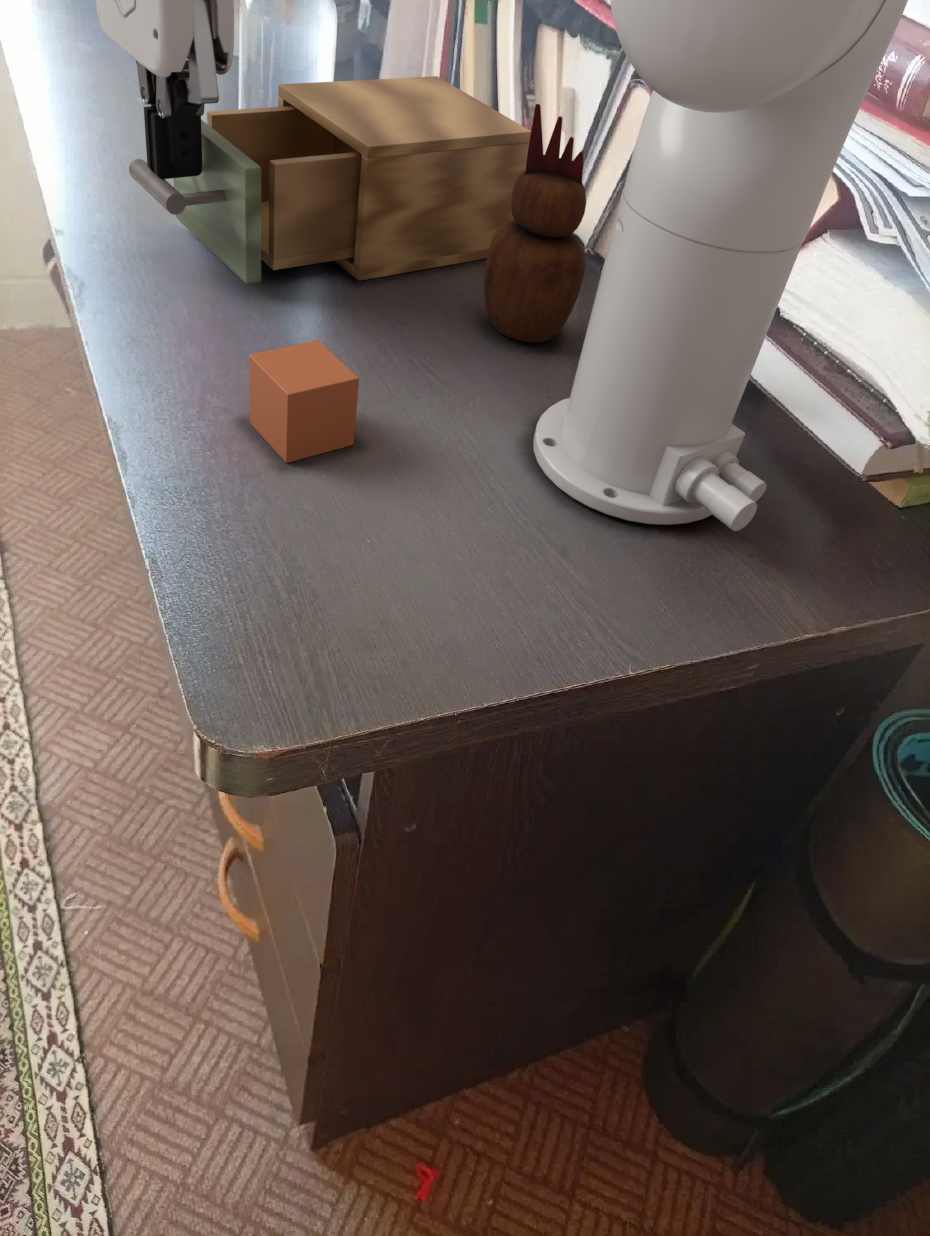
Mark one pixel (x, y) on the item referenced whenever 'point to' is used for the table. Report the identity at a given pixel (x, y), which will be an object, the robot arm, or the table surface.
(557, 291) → the wooden figurine
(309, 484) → the table surface
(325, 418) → the block
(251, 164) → the drawer
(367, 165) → the cabinet
